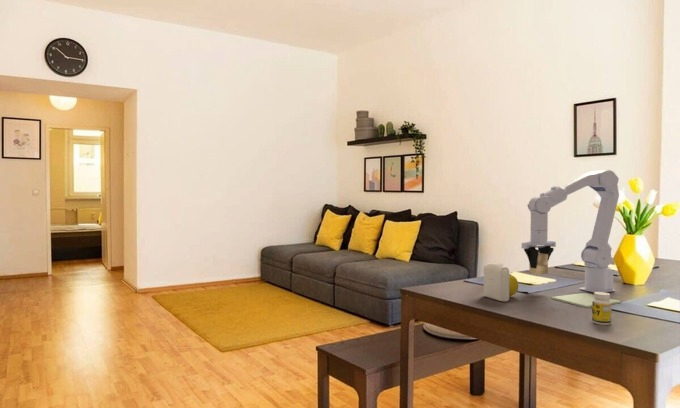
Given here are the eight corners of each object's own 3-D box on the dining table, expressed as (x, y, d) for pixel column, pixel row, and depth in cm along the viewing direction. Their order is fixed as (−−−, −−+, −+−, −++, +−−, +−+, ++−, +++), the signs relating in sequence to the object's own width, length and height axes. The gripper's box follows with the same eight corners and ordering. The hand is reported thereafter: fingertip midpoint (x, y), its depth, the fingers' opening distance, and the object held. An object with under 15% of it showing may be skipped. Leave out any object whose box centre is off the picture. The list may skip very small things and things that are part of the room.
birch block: (538, 271, 183) (538, 252, 183) (547, 273, 179) (548, 254, 178) (529, 272, 181) (529, 253, 181) (538, 274, 177) (538, 254, 177)
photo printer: (481, 296, 174) (481, 260, 174) (491, 295, 175) (492, 260, 175) (500, 302, 164) (500, 265, 164) (511, 301, 166) (511, 264, 165)
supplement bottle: (588, 320, 142) (589, 291, 141) (604, 320, 142) (604, 291, 142) (598, 325, 137) (599, 295, 137) (614, 325, 137) (615, 294, 137)
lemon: (519, 299, 169) (519, 275, 169) (502, 298, 170) (502, 275, 170) (516, 295, 174) (517, 272, 174) (500, 294, 176) (500, 272, 175)
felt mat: (584, 294, 176) (585, 292, 176) (621, 302, 163) (621, 301, 163) (551, 298, 169) (551, 296, 169) (586, 307, 157) (586, 305, 157)
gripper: (545, 228, 186) (544, 264, 186) (515, 229, 180) (515, 267, 181) (560, 229, 179) (560, 267, 180) (530, 231, 174) (529, 270, 174)
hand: (538, 267), depth 180 cm, fingers closed on birch block, 4 cm apart
